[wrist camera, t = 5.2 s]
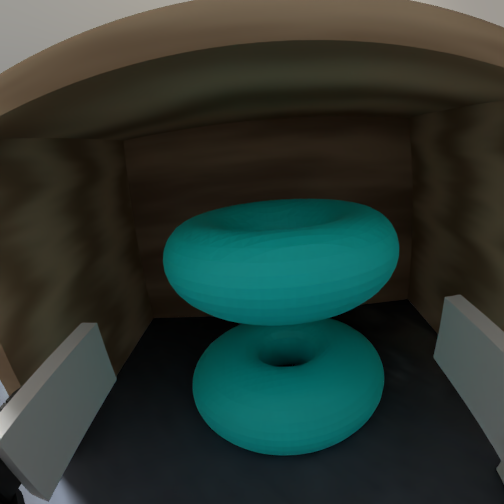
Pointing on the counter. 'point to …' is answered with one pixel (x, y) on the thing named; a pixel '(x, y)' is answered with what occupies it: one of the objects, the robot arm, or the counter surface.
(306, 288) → the donuts
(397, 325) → the counter surface
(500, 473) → the platter
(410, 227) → the tunnel
